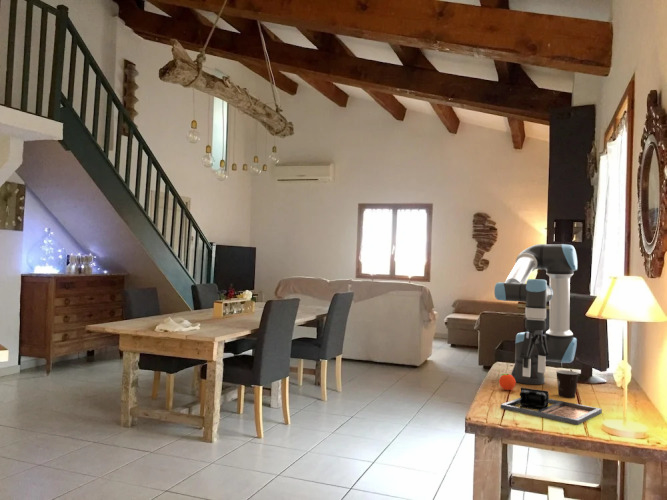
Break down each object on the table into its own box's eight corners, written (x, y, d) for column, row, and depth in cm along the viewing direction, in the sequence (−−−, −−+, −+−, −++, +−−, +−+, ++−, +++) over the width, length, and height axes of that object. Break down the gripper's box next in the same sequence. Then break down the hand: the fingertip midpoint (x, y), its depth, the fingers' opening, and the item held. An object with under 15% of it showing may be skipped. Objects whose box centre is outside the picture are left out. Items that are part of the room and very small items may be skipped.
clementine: (496, 390, 245) (496, 374, 245) (496, 387, 252) (497, 371, 252) (515, 392, 242) (515, 375, 243) (515, 389, 249) (516, 372, 249)
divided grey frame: (528, 398, 232) (528, 394, 232) (601, 412, 212) (601, 408, 212) (500, 408, 214) (500, 404, 214) (577, 424, 195) (577, 420, 195)
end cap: (548, 407, 219) (549, 389, 219) (545, 411, 212) (546, 393, 212) (521, 403, 223) (522, 386, 223) (518, 407, 217) (518, 389, 217)
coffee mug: (557, 392, 244) (558, 369, 244) (579, 395, 240) (579, 372, 240) (553, 398, 234) (553, 373, 234) (575, 401, 230) (576, 376, 230)
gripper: (539, 317, 230) (538, 369, 229) (511, 319, 212) (510, 376, 211) (558, 318, 225) (556, 372, 224) (531, 321, 207) (529, 379, 206)
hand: (534, 374), depth 218 cm, fingers open, 13 cm apart
